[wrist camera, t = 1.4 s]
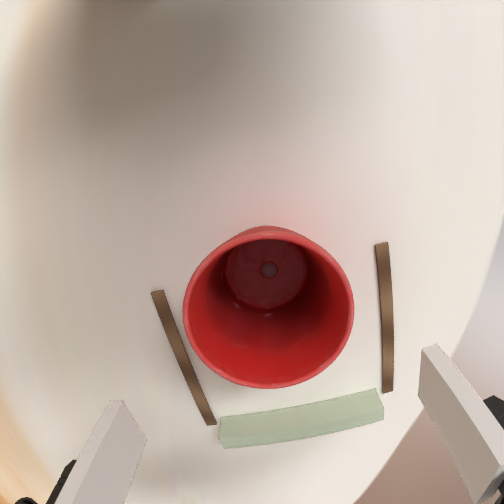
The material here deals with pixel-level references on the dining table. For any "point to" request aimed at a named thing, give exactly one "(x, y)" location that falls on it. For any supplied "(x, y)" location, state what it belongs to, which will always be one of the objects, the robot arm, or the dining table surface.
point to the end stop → (301, 421)
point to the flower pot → (268, 309)
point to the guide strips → (386, 320)
